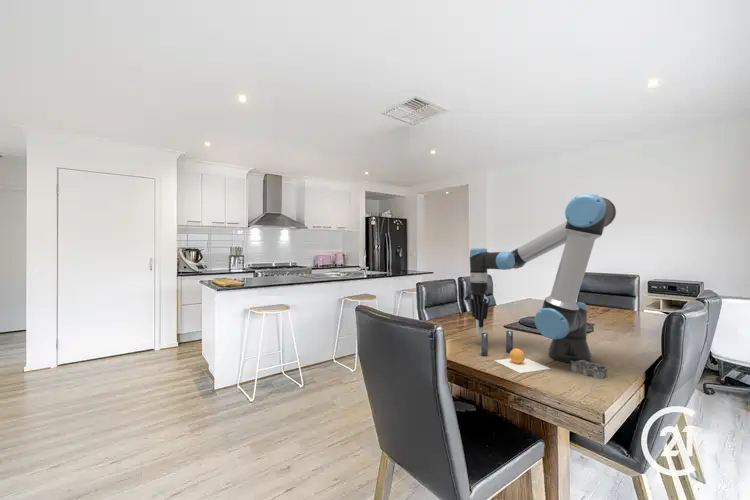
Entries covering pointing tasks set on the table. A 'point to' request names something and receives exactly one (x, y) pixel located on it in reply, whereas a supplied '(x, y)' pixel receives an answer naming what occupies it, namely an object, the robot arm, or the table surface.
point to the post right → (509, 341)
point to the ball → (517, 356)
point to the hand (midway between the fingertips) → (479, 333)
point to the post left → (484, 344)
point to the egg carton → (589, 368)
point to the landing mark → (522, 365)
